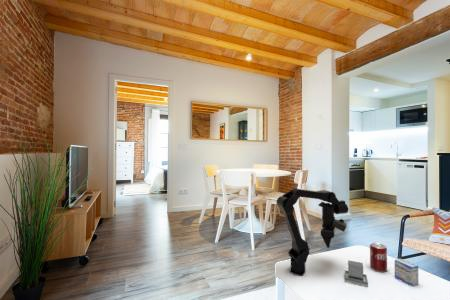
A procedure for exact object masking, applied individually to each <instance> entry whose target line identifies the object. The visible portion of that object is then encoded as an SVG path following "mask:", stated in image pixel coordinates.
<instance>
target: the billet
mask: <svg viewBox="0 0 450 300" xmlns="http://www.w3.org/2000/svg"><path fill="white" fill-rule="evenodd" d="M347 265H348V266H347V267H348V268H347V271H348V277H349V278H352V279H357V280H361V281H363V274H364V263H363V262H360V261H353V260H350V259H349V260H347Z"/></svg>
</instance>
